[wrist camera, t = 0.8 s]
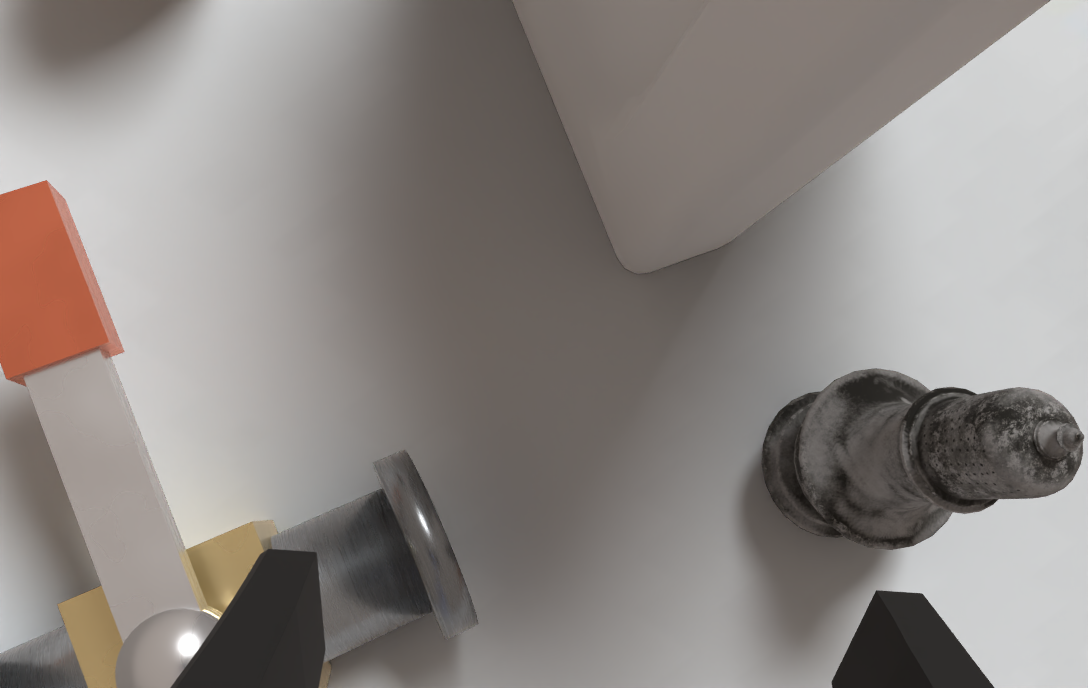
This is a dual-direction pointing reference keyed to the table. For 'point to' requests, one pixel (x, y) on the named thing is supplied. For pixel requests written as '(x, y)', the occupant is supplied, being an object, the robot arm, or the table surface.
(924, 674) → the robot arm
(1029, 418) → the salt shaker
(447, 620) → the valve
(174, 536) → the valve lever
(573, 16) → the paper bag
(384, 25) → the table surface
